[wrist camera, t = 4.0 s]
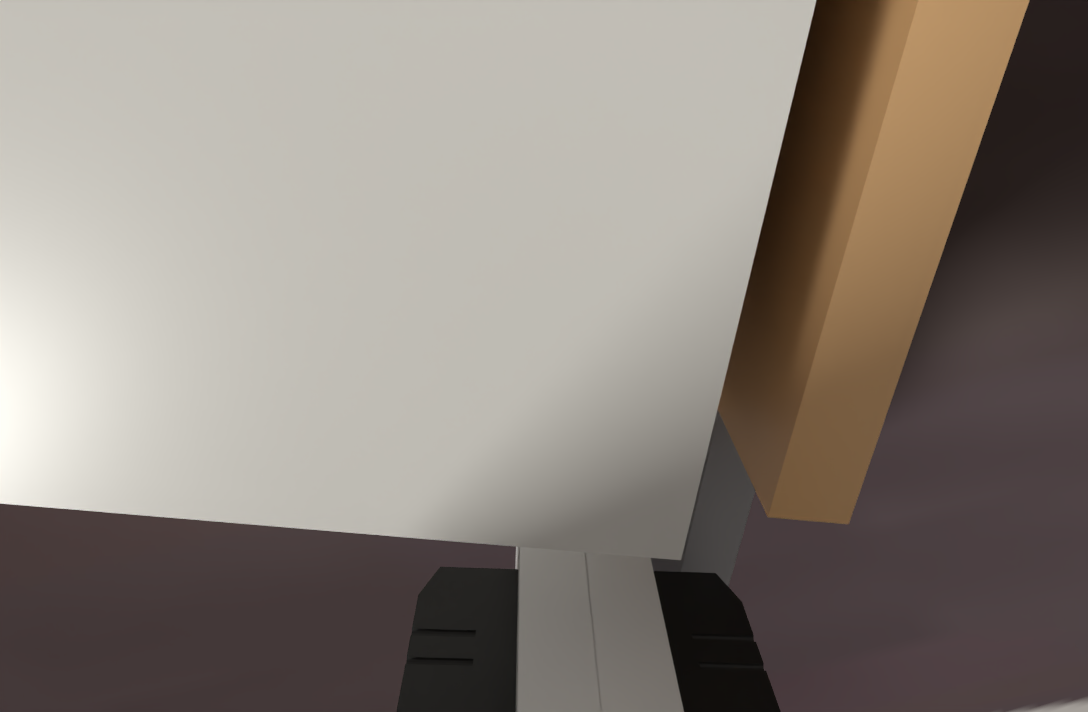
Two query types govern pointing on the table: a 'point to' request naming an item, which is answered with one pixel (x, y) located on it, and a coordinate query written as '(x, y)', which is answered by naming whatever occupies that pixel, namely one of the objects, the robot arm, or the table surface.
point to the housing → (382, 258)
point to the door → (845, 256)
